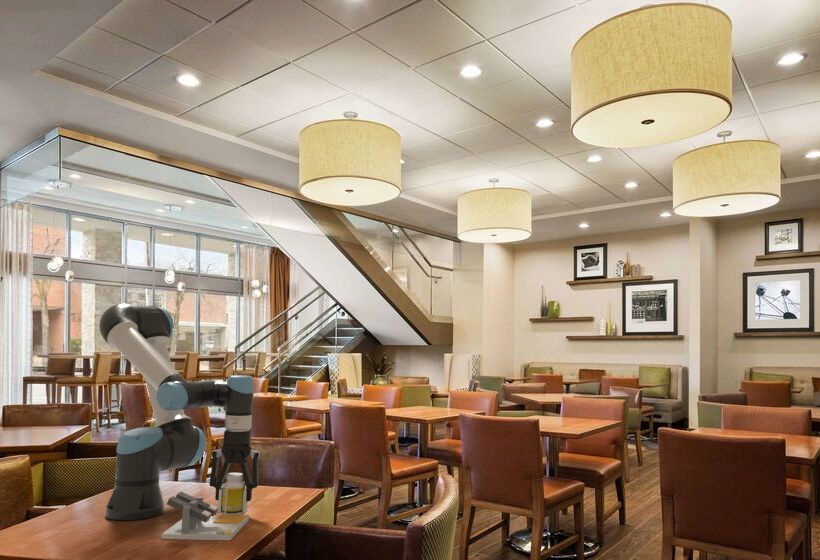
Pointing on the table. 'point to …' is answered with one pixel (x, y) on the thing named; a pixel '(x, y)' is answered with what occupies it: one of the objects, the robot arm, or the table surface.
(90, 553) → the table surface
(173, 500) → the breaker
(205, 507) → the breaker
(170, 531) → the breaker panel
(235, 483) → the pill bottle
